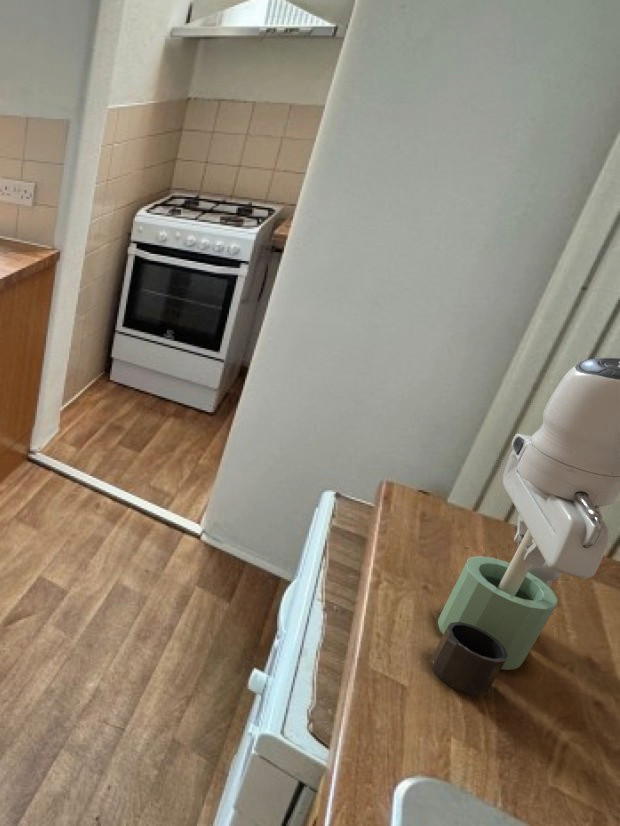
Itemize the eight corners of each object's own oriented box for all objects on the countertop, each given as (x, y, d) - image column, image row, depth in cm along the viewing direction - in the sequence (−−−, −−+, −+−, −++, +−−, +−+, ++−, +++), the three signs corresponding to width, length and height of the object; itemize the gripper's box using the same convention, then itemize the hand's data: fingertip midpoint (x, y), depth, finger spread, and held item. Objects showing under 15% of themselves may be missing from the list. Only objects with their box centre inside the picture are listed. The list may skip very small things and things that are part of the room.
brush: (502, 615, 88) (550, 525, 82) (508, 629, 86) (558, 538, 80) (477, 606, 90) (522, 517, 84) (482, 620, 88) (529, 530, 81)
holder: (480, 669, 86) (499, 634, 83) (493, 706, 81) (514, 670, 78) (426, 648, 89) (443, 614, 86) (435, 683, 84) (453, 647, 81)
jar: (510, 632, 91) (543, 573, 87) (531, 681, 84) (568, 620, 79) (431, 604, 96) (459, 547, 91) (445, 649, 88) (476, 589, 84)
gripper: (644, 532, 69) (591, 619, 74) (572, 441, 85) (532, 518, 90) (566, 511, 72) (520, 597, 77) (511, 428, 88) (476, 503, 93)
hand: (526, 554), depth 83 cm, fingers closed on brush, 2 cm apart
